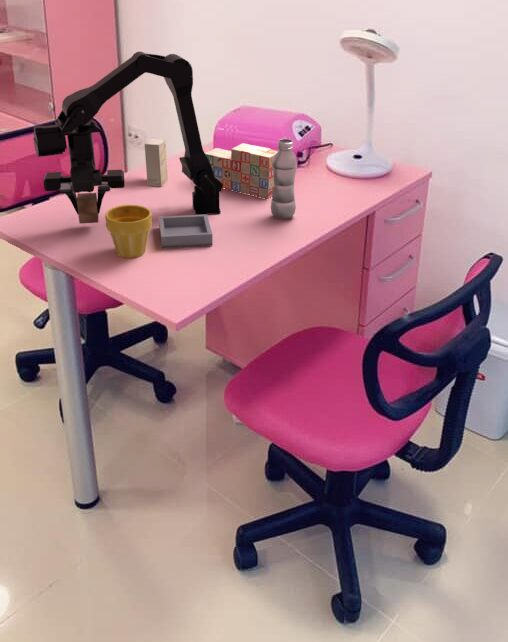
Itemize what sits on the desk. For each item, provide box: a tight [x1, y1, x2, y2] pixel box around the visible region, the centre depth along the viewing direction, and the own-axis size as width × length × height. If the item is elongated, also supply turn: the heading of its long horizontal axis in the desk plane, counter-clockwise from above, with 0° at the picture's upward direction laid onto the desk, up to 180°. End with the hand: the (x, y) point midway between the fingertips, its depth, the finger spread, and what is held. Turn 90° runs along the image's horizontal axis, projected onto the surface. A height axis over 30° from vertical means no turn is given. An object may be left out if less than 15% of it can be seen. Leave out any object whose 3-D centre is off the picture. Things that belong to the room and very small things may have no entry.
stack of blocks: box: [204, 142, 278, 200], centre depth 202 cm, size 21×6×12 cm, turn 58°
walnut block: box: [76, 192, 100, 225], centre depth 177 cm, size 4×4×6 cm
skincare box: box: [144, 137, 169, 187], centre depth 205 cm, size 6×4×12 cm
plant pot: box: [104, 204, 153, 259], centre depth 166 cm, size 10×10×10 cm
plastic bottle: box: [270, 138, 298, 220], centre depth 183 cm, size 6×7×20 cm
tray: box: [158, 214, 214, 249], centre depth 176 cm, size 12×12×3 cm
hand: (88, 213), depth 178 cm, fingers closed on walnut block, 4 cm apart
